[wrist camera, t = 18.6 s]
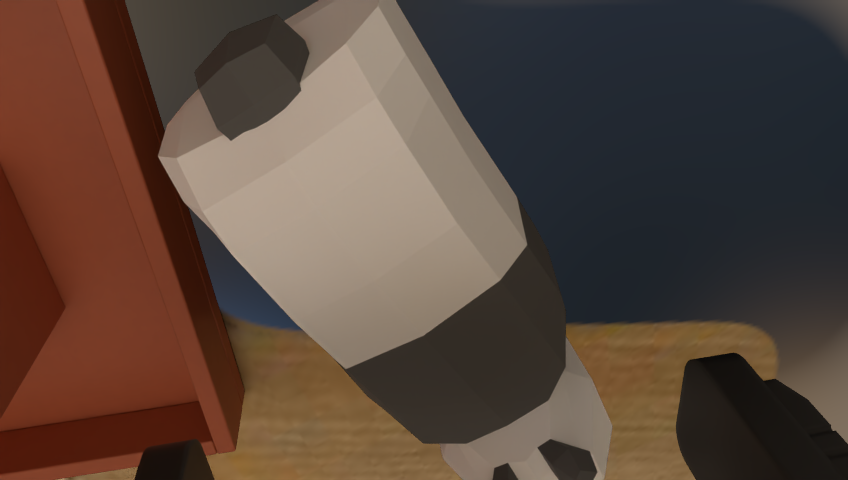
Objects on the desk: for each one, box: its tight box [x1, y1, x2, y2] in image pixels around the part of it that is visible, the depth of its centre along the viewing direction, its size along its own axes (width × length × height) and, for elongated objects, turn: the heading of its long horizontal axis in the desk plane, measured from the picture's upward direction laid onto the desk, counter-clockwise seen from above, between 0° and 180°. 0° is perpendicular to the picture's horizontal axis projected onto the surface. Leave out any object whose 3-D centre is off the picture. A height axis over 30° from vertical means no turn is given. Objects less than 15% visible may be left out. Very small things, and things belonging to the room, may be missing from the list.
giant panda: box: [158, 0, 612, 480], centre depth 16 cm, size 15×6×10 cm, turn 32°
